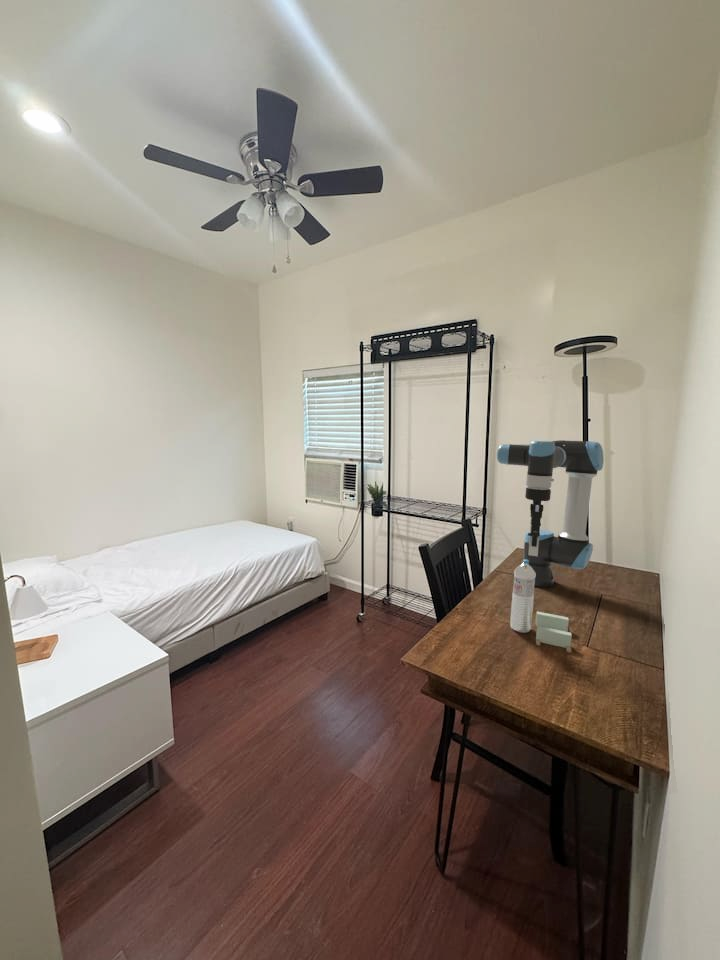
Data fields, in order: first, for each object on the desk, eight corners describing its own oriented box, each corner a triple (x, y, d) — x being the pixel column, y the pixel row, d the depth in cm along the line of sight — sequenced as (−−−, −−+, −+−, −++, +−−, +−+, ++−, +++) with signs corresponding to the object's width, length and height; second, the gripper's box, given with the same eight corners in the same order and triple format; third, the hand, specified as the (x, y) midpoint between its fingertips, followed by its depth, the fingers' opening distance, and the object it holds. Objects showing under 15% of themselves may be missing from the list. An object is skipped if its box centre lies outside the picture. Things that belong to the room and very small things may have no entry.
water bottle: (532, 634, 130) (539, 564, 126) (511, 632, 131) (517, 562, 128) (528, 624, 136) (534, 557, 133) (508, 622, 138) (513, 555, 134)
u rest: (536, 644, 124) (537, 631, 123) (535, 620, 140) (536, 608, 139) (570, 652, 120) (572, 639, 119) (566, 626, 136) (567, 614, 135)
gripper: (552, 494, 114) (546, 562, 116) (549, 483, 136) (544, 541, 139) (525, 492, 117) (519, 558, 120) (526, 482, 139) (522, 538, 142)
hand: (532, 549), depth 129 cm, fingers open, 13 cm apart
